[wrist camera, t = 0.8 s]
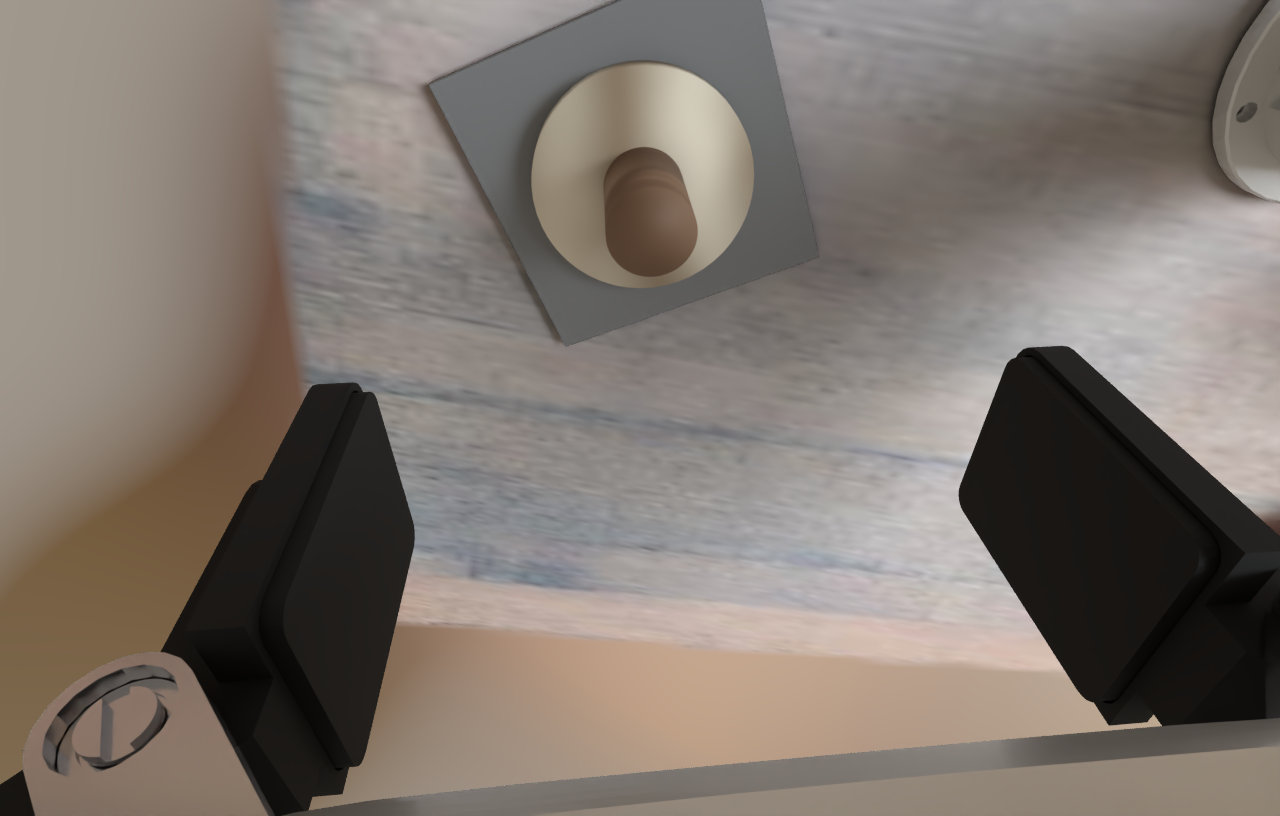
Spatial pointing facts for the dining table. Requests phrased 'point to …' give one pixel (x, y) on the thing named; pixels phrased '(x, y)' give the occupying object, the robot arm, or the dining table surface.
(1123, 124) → the dining table surface
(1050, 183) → the dining table surface
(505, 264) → the dining table surface
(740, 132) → the lid
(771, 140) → the mat
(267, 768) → the robot arm
